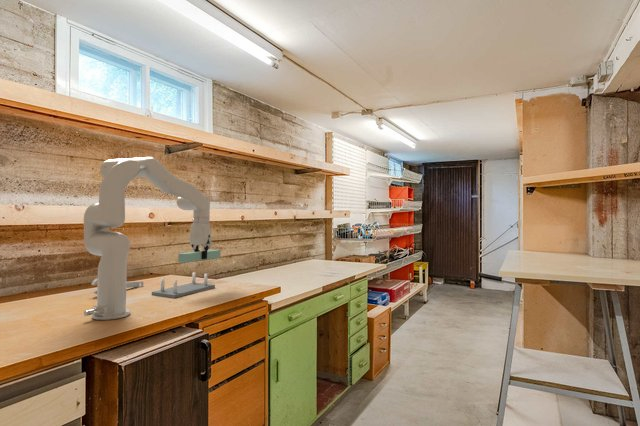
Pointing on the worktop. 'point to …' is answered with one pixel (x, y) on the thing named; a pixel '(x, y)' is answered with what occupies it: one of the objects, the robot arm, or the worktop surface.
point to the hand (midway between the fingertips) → (200, 258)
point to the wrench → (128, 284)
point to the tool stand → (183, 288)
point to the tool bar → (197, 256)
